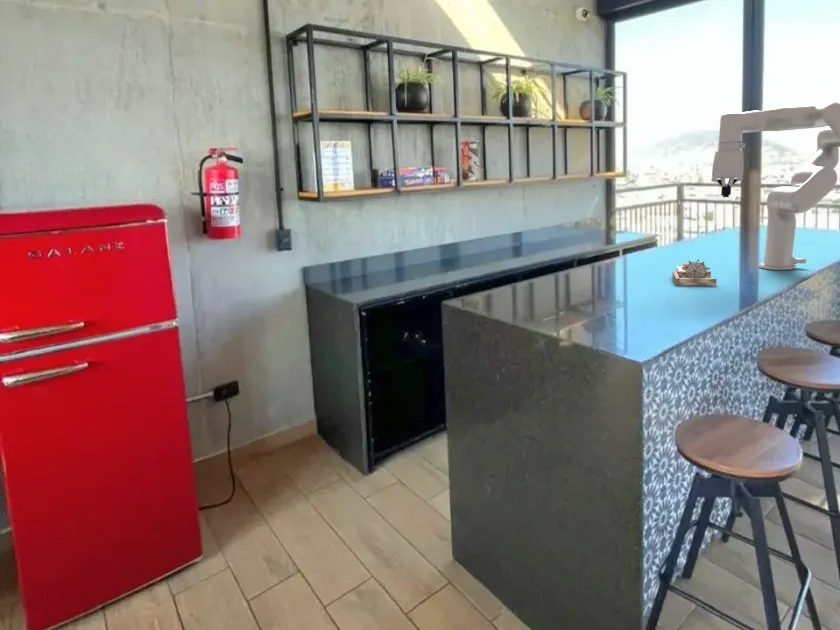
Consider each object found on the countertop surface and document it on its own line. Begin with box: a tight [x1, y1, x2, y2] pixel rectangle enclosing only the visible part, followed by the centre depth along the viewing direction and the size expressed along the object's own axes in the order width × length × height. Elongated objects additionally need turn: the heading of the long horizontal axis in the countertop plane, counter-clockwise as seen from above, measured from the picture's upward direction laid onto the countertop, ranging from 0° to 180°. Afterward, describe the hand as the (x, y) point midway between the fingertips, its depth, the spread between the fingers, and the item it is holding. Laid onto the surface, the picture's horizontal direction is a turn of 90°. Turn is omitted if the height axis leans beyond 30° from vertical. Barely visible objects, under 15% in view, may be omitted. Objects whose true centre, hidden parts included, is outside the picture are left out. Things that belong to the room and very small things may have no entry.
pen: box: [671, 270, 718, 287], centre depth 215 cm, size 13×15×2 cm
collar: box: [675, 265, 686, 271], centre depth 226 cm, size 10×10×2 cm
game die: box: [683, 258, 711, 278], centre depth 213 cm, size 9×8×10 cm
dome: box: [682, 262, 689, 270], centre depth 226 cm, size 6×6×3 cm
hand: (725, 196), depth 222 cm, fingers closed
